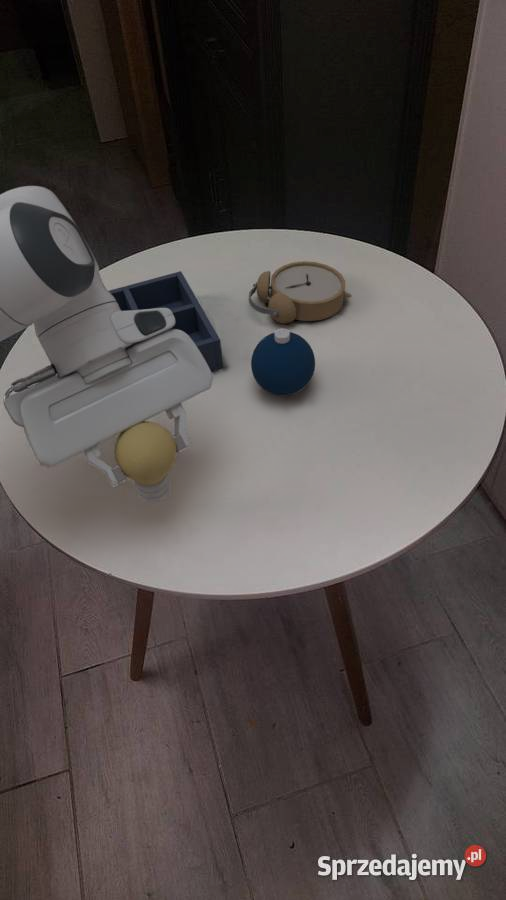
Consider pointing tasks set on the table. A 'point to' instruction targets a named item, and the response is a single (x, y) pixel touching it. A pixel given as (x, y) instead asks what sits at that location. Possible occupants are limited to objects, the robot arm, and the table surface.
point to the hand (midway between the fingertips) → (152, 466)
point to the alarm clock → (300, 292)
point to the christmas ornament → (283, 363)
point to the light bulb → (147, 459)
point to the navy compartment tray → (175, 310)
